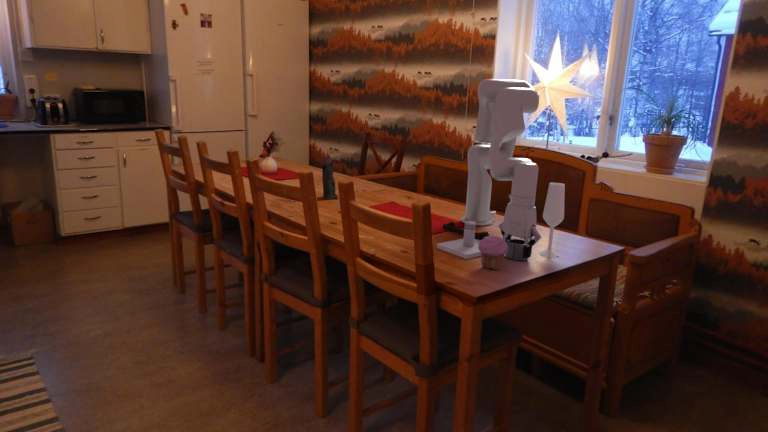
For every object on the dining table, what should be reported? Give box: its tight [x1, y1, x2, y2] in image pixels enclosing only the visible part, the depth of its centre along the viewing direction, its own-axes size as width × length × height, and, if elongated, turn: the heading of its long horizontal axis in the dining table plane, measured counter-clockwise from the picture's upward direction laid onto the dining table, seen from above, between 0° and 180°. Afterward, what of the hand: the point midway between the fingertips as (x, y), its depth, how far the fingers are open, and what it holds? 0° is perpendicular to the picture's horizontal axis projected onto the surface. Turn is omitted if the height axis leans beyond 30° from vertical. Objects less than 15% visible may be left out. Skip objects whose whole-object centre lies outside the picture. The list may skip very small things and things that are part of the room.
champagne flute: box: [538, 182, 566, 258], centre depth 177 cm, size 7×7×24 cm
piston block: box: [436, 221, 482, 260], centre depth 180 cm, size 16×14×10 cm
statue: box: [321, 155, 339, 200], centre depth 250 cm, size 7×7×20 cm
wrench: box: [442, 221, 490, 241], centre depth 197 cm, size 5×5×30 cm
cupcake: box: [478, 235, 508, 271], centre depth 163 cm, size 9×9×10 cm
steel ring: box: [504, 237, 530, 261], centre depth 174 cm, size 7×7×5 cm
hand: (516, 253), depth 174 cm, fingers closed on steel ring, 7 cm apart
